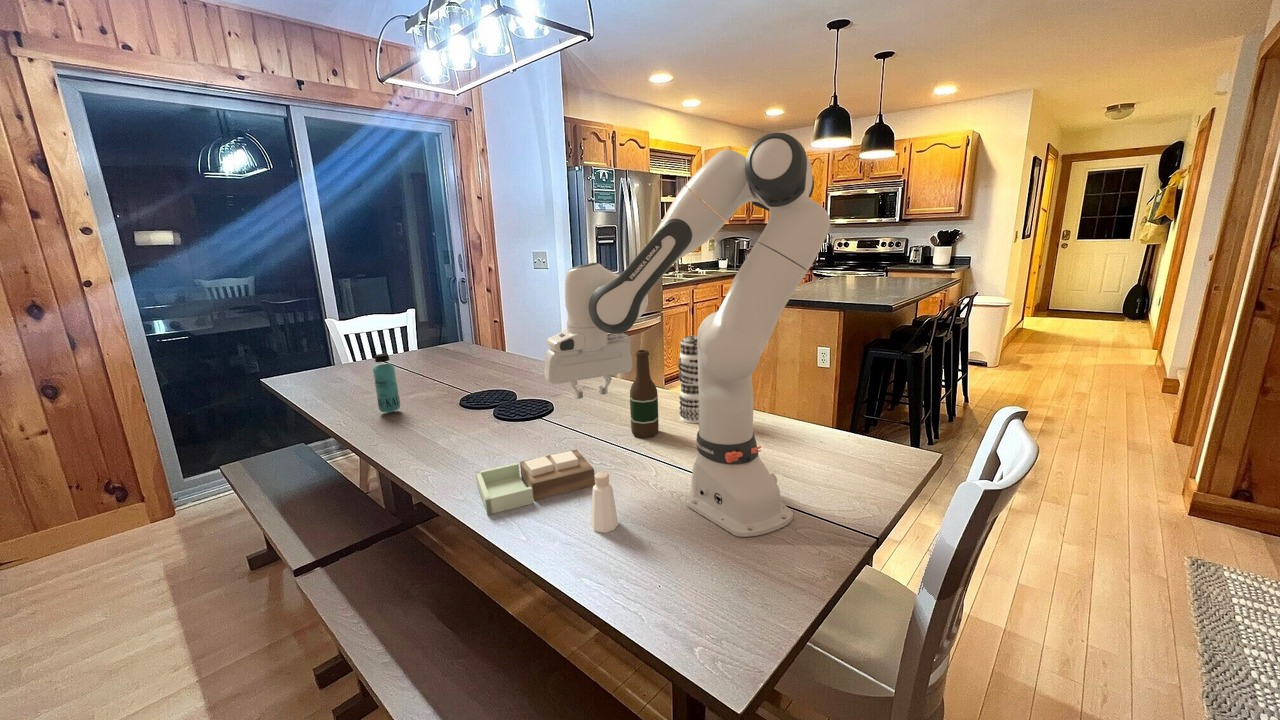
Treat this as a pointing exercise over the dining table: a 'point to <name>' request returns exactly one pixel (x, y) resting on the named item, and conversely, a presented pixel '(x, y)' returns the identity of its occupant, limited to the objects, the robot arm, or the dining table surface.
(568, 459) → the tile
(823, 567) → the dining table surface
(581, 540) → the dining table surface
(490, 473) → the tray
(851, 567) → the dining table surface
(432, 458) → the dining table surface
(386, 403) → the beverage bottle
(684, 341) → the decorative candle
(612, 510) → the salt shaker
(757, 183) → the robot arm
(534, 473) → the tile
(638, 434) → the beer bottle
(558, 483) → the wooden tile base
